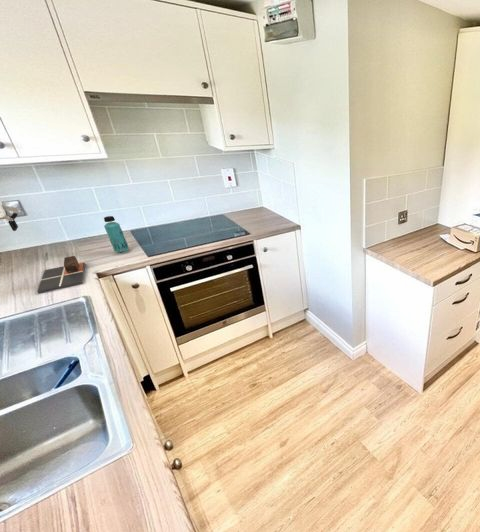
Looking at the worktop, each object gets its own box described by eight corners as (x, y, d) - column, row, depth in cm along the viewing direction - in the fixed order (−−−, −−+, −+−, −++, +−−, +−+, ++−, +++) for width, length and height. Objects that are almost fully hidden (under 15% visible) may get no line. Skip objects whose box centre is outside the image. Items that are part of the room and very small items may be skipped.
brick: (68, 266, 155) (63, 257, 153) (79, 263, 158) (74, 255, 156) (67, 274, 148) (62, 265, 146) (79, 271, 151) (74, 262, 149)
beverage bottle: (115, 255, 169) (100, 219, 160) (114, 251, 174) (99, 216, 165) (131, 252, 173) (116, 217, 164) (129, 248, 178) (116, 214, 168)
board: (38, 293, 136) (36, 291, 135) (46, 272, 152) (44, 269, 152) (82, 283, 144) (81, 281, 143) (85, 264, 160) (84, 262, 160)
